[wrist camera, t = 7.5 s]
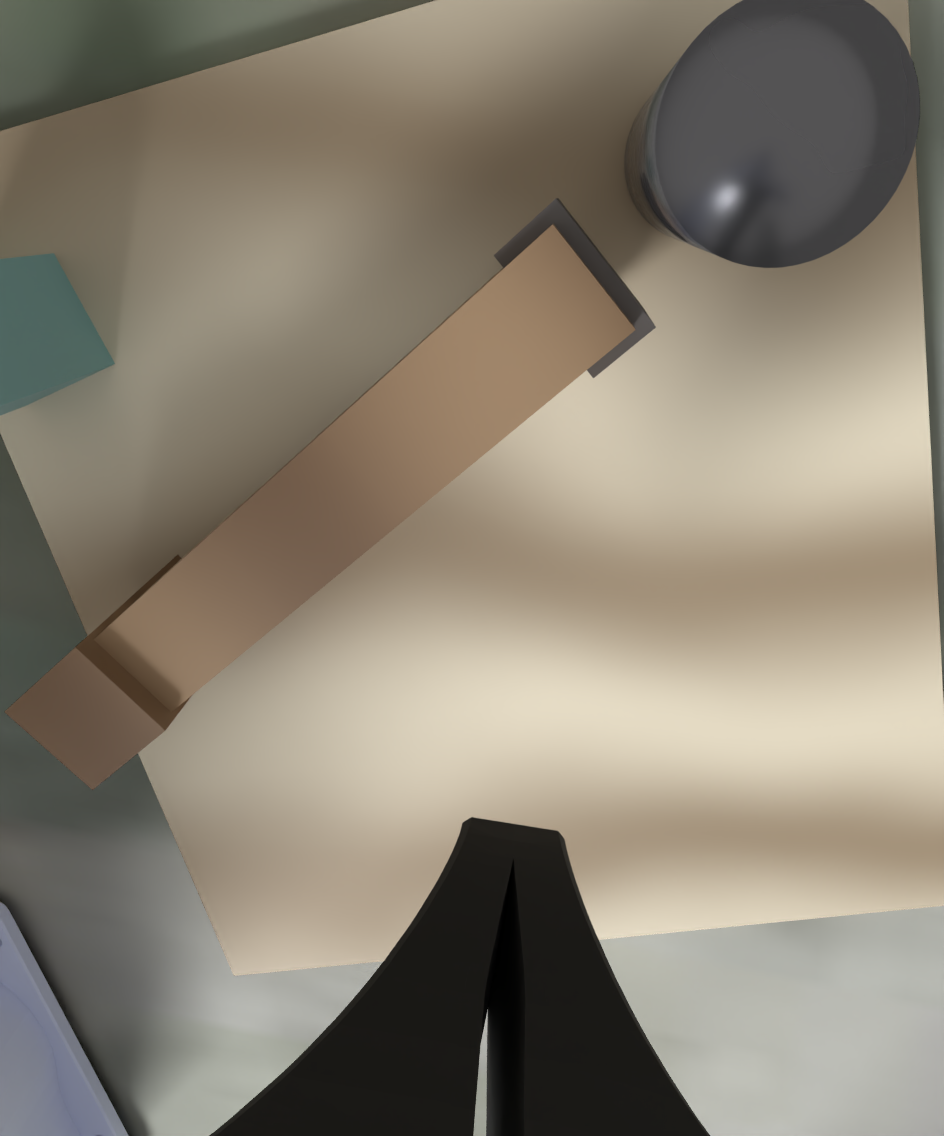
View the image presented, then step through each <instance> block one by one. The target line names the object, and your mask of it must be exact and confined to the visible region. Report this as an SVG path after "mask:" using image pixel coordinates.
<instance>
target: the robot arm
mask: <svg viewBox="0 0 944 1136" xmlns="http://www.w3.org/2000/svg"><path fill="white" fill-rule="evenodd" d="M487 1009H488V1035H487V1126H486V1136H710V1135H709V1133H708V1132H707V1131H706V1129H705V1128H704V1127H703V1125H702V1124H701V1123H700V1121H699V1120H698V1118H697V1117H696V1116H695V1114H694V1113H693V1111H692V1110H691V1108H690V1107H689V1105H688V1103H687V1102H686V1100H685V1099H684V1097H683V1096H682V1094H681V1093H680V1091H679V1090H678V1088H677V1087H676V1085H675V1083H674V1082H673V1080H672V1079H671V1077H670V1076H669V1074H668V1072H667V1071H666V1069H665V1067H664V1066H663V1064H662V1062H661V1061H660V1059H659V1057H658V1056H657V1054H656V1052H655V1051H654V1049H653V1047H652V1046H651V1044H650V1042H649V1041H648V1039H647V1037H646V1035H645V1033H644V1032H643V1030H642V1028H641V1026H640V1024H639V1023H638V1021H637V1019H636V1017H635V1015H634V1013H633V1011H632V1009H631V1007H630V1006H629V1004H628V1002H627V1000H626V998H625V996H624V994H623V992H622V990H621V988H620V986H619V984H618V982H617V980H616V978H615V975H614V973H613V971H612V969H611V967H610V965H609V963H608V960H607V958H606V956H605V954H604V951H603V949H602V947H601V944H600V942H599V940H598V937H597V935H596V933H595V930H594V928H593V925H592V923H591V921H590V918H589V916H588V913H587V910H586V908H585V905H584V903H583V900H582V897H581V894H580V891H579V888H578V886H577V883H576V880H575V877H574V873H573V870H572V867H571V863H570V860H569V856H568V852H567V848H566V844H565V839H564V838H563V836H562V835H561V834H560V832H559V831H556V830H550V829H543V828H537V827H531V826H525V825H518V824H512V823H506V822H499V821H493V820H487V819H481V818H474V817H471V818H469V819H468V820H466V821H464V822H463V823H462V826H461V830H460V834H459V836H458V839H457V841H456V844H455V846H454V849H453V851H452V853H451V855H450V857H449V859H448V862H447V863H446V865H445V867H444V869H443V871H442V873H441V875H440V877H439V878H438V880H437V882H436V884H435V885H434V887H433V889H432V890H431V892H430V894H429V895H428V897H427V899H426V900H425V902H424V903H423V905H422V907H421V908H420V910H419V912H418V913H417V915H416V916H415V918H414V919H413V921H412V922H411V924H410V925H409V927H408V928H407V930H406V931H405V932H404V934H403V935H402V937H401V938H400V939H399V941H398V942H397V944H396V945H395V946H394V948H393V949H392V950H391V952H390V953H389V955H388V956H387V957H386V959H385V960H384V962H383V963H382V964H381V966H380V967H379V968H378V969H377V971H376V972H375V973H374V974H373V976H372V977H371V978H370V979H369V981H368V982H367V983H366V984H365V986H364V987H363V988H362V989H361V990H360V992H359V993H358V994H357V995H356V996H355V997H354V999H353V1000H352V1001H351V1002H350V1003H349V1004H348V1006H347V1007H346V1008H345V1009H344V1010H343V1011H342V1012H341V1014H340V1015H339V1016H338V1017H337V1018H336V1019H335V1020H334V1021H333V1022H332V1023H331V1024H330V1025H329V1026H328V1027H327V1029H326V1030H325V1031H324V1032H323V1033H322V1034H321V1035H320V1036H319V1037H318V1038H317V1039H316V1040H315V1041H314V1042H313V1043H312V1044H311V1045H310V1046H309V1047H308V1048H307V1049H306V1050H305V1051H304V1052H303V1053H302V1054H301V1055H300V1056H299V1057H298V1058H297V1059H296V1060H295V1061H294V1062H293V1063H292V1064H291V1065H290V1066H289V1067H288V1068H287V1069H286V1070H285V1071H284V1072H283V1073H282V1074H281V1075H279V1076H278V1077H277V1078H276V1079H275V1080H274V1081H273V1082H272V1083H270V1084H269V1085H268V1086H267V1087H266V1088H265V1089H264V1090H262V1091H261V1092H260V1093H259V1094H258V1095H257V1096H256V1097H255V1098H253V1099H252V1100H251V1101H250V1102H249V1103H248V1104H247V1105H245V1106H244V1107H243V1108H242V1109H241V1110H240V1111H239V1112H237V1113H236V1114H235V1115H234V1116H233V1117H232V1118H231V1119H229V1120H228V1121H227V1122H226V1123H225V1124H223V1125H222V1126H221V1127H220V1128H218V1129H217V1130H216V1131H215V1132H213V1133H212V1134H211V1135H210V1136H473V1131H474V1117H475V1104H476V1092H477V1079H478V1067H479V1054H480V1044H481V1039H482V1034H483V1029H484V1024H485V1019H486V1014H487ZM0 1136H128V1134H127V1132H126V1130H125V1128H124V1126H123V1124H122V1122H121V1120H120V1119H119V1117H118V1115H117V1113H116V1111H115V1109H114V1107H113V1105H112V1103H111V1102H110V1100H109V1098H108V1096H107V1094H106V1092H105V1090H104V1088H103V1086H102V1085H101V1083H100V1081H99V1079H98V1077H97V1075H96V1073H95V1071H94V1070H93V1068H92V1066H91V1064H90V1062H89V1060H88V1058H87V1056H86V1054H85V1053H84V1051H83V1049H82V1047H81V1045H80V1043H79V1041H78V1039H77V1037H76V1036H75V1034H74V1032H73V1030H72V1028H71V1026H70V1024H69V1022H68V1021H67V1019H66V1017H65V1015H64V1013H63V1011H62V1009H61V1007H60V1005H59V1004H58V1002H57V1000H56V998H55V996H54V994H53V992H52V990H51V988H50V987H49V985H48V983H47V981H46V979H45V977H44V975H43V973H42V971H41V970H40V968H39V966H38V964H37V962H36V960H35V958H34V956H33V955H32V953H31V951H30V949H29V947H28V945H27V943H26V941H25V939H24V938H23V936H22V934H21V932H20V930H19V928H18V926H17V924H16V922H15V921H14V919H13V917H12V915H11V913H10V911H9V910H8V908H7V907H6V906H5V905H4V904H3V903H1V902H0Z"/></svg>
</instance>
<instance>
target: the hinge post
mask: <svg viewBox="0 0 944 1136" xmlns="http://www.w3.org/2000/svg"><path fill="white" fill-rule="evenodd" d="M919 119H920V96H919V87H918V80H917V76H916V72H915V68H914V64H913V61H912V59H911V56H910V54H909V51H908V49H907V46H906V45H905V43H904V41H903V40H902V38H901V36H900V35H899V33H898V31H897V30H896V29H895V28H894V26H893V25H892V24H891V23H890V22H889V20H888V19H887V18H886V17H885V16H884V15H883V14H882V13H881V12H879V11H878V10H877V9H876V8H875V7H874V6H872V5H871V4H869V3H868V2H866V1H864V0H743V1H741V2H739V3H737V4H735V5H734V6H732V7H731V8H729V9H728V10H726V11H725V12H723V13H722V14H720V15H719V16H718V17H717V18H716V19H715V20H713V21H712V22H711V23H710V24H709V25H708V26H707V27H705V28H704V30H703V31H702V32H701V33H700V34H699V35H698V36H697V37H696V38H695V40H694V41H693V42H692V43H691V44H690V46H689V47H688V48H687V49H686V51H685V52H684V53H683V55H682V56H681V57H680V59H679V60H678V61H677V62H676V64H675V65H674V66H673V68H672V69H671V70H670V72H669V73H668V74H667V75H666V77H665V78H664V79H663V81H662V82H661V83H660V84H659V86H658V87H657V88H656V90H655V91H654V92H653V94H652V95H651V96H650V97H649V99H648V100H647V101H646V103H645V104H644V105H643V107H642V108H641V110H640V111H639V113H638V115H637V116H636V118H635V120H634V122H633V124H632V127H631V129H630V132H629V135H628V139H627V142H626V148H625V154H624V172H625V180H626V184H627V189H628V191H629V194H630V197H631V199H632V201H633V203H634V205H635V207H636V209H637V210H638V211H639V213H640V214H641V216H642V217H643V218H644V219H645V220H646V221H647V222H648V223H649V224H650V225H651V226H653V227H654V228H655V229H656V230H658V231H660V232H661V233H663V234H665V235H667V236H669V237H672V238H674V239H677V240H679V241H682V242H684V243H687V244H689V245H692V246H694V247H697V248H699V249H702V250H704V251H706V252H709V253H711V254H714V255H716V256H719V257H721V258H724V259H726V260H729V261H731V262H734V263H738V264H742V265H746V266H751V267H760V268H781V267H788V266H794V265H799V264H802V263H806V262H809V261H812V260H815V259H818V258H820V257H822V256H825V255H827V254H829V253H831V252H833V251H835V250H836V249H838V248H840V247H841V246H843V245H845V244H846V243H848V242H849V241H850V240H852V239H853V238H854V237H856V236H857V235H858V234H860V233H861V232H862V231H863V230H864V229H865V228H866V227H867V226H868V225H869V224H870V223H871V222H873V221H874V219H875V218H876V217H877V216H878V215H879V214H880V212H881V211H882V210H883V209H884V208H885V206H886V205H887V204H888V202H889V201H890V199H891V198H892V196H893V195H894V193H895V192H896V190H897V188H898V186H899V184H900V183H901V181H902V179H903V177H904V175H905V173H906V170H907V168H908V165H909V163H910V160H911V157H912V155H913V151H914V147H915V143H916V139H917V134H918V127H919Z"/></svg>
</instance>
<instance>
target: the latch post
mask: <svg viewBox="0 0 944 1136" xmlns="http://www.w3.org/2000/svg"><path fill="white" fill-rule="evenodd" d="M114 364H115V363H114V361H113V359H112V357H111V355H110V354H109V352H108V350H107V348H106V346H105V345H104V343H103V341H102V339H101V337H100V336H99V334H98V332H97V330H96V328H95V327H94V325H93V323H92V321H91V319H90V318H89V316H88V314H87V312H86V310H85V309H84V307H83V305H82V303H81V301H80V299H79V298H78V296H77V294H76V292H75V290H74V289H73V287H72V285H71V283H70V281H69V280H68V278H67V276H66V274H65V272H64V271H63V269H62V267H61V265H60V263H59V262H58V260H57V258H56V256H55V254H54V253H51V254H42V255H32V256H23V257H14V258H5V259H0V415H3V414H6V413H8V412H11V411H14V410H16V409H19V408H21V407H24V406H26V405H29V404H31V403H33V402H35V401H37V400H39V399H41V398H43V397H46V396H48V395H50V394H52V393H54V392H56V391H58V390H61V389H63V388H65V387H67V386H69V385H71V384H73V383H76V382H78V381H80V380H82V379H84V378H86V377H88V376H90V375H93V374H95V373H97V372H99V371H101V370H103V369H105V368H108V367H110V366H112V365H114Z"/></svg>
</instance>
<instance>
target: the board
mask: <svg viewBox="0 0 944 1136" xmlns="http://www.w3.org/2000/svg"><path fill="white" fill-rule="evenodd" d="M741 1H743V0H435V1H432V2H428V3H425V4H422V5H418V6H415V7H412V8H408V9H405V10H402V11H398V12H395V13H392V14H388V15H385V16H382V17H378V18H375V19H372V20H368V21H365V22H362V23H358V24H355V25H352V26H348V27H345V28H342V29H338V30H335V31H332V32H328V33H325V34H322V35H318V36H315V37H312V38H308V39H305V40H302V41H298V42H295V43H292V44H288V45H285V46H282V47H278V48H275V49H272V50H268V51H265V52H262V53H258V54H255V55H252V56H248V57H245V58H242V59H238V60H235V61H232V62H228V63H225V64H222V65H218V66H215V67H212V68H208V69H205V70H202V71H199V72H195V73H192V74H189V75H185V76H182V77H179V78H175V79H172V80H169V81H165V82H162V83H159V84H155V85H152V86H149V87H145V88H142V89H139V90H135V91H132V92H129V93H125V94H122V95H119V96H115V97H112V98H109V99H105V100H102V101H99V102H95V103H92V104H89V105H85V106H82V107H79V108H75V109H72V110H69V111H65V112H62V113H59V114H55V115H52V116H49V117H45V118H42V119H39V120H35V121H32V122H29V123H25V124H22V125H19V126H15V127H12V128H9V129H5V130H2V131H0V259H5V258H14V257H23V256H32V255H42V254H51V253H54V254H55V256H56V258H57V260H58V262H59V263H60V265H61V267H62V269H63V271H64V272H65V274H66V276H67V278H68V280H69V281H70V283H71V285H72V287H73V289H74V290H75V292H76V294H77V296H78V298H79V299H80V301H81V303H82V305H83V307H84V309H85V310H86V312H87V314H88V316H89V318H90V319H91V321H92V323H93V325H94V327H95V328H96V330H97V332H98V334H99V336H100V337H101V339H102V341H103V343H104V345H105V346H106V348H107V350H108V352H109V354H110V355H111V357H112V359H113V361H114V363H115V364H114V365H112V366H110V367H108V368H105V369H103V370H101V371H99V372H97V373H95V374H93V375H90V376H88V377H86V378H84V379H82V380H80V381H78V382H76V383H73V384H71V385H69V386H67V387H65V388H63V389H61V390H58V391H56V392H54V393H52V394H50V395H48V396H46V397H43V398H41V399H39V400H37V401H35V402H33V403H31V404H29V405H26V406H24V407H21V408H19V409H16V410H14V411H11V412H8V413H6V414H3V415H0V434H1V436H2V438H3V441H4V443H5V445H6V448H7V450H8V452H9V455H10V457H11V459H12V462H13V464H14V466H15V469H16V471H17V473H18V476H19V478H20V480H21V483H22V485H23V487H24V490H25V492H26V494H27V496H28V499H29V501H30V503H31V506H32V508H33V510H34V513H35V515H36V517H37V520H38V522H39V524H40V527H41V529H42V531H43V534H44V536H45V538H46V541H47V543H48V545H49V548H50V550H51V552H52V555H53V557H54V559H55V562H56V564H57V566H58V568H59V571H60V573H61V575H62V578H63V580H64V582H65V585H66V587H67V589H68V592H69V594H70V596H71V599H72V601H73V603H74V606H75V608H76V610H77V613H78V615H79V617H80V620H81V622H82V624H83V627H84V629H85V631H86V634H87V636H88V635H89V634H90V633H91V632H93V631H94V630H95V629H96V628H97V627H98V626H99V625H100V624H101V623H103V622H104V621H105V620H106V619H107V618H108V617H109V616H110V615H111V614H112V613H114V612H115V611H116V610H117V609H118V608H119V607H120V606H121V605H122V604H124V603H125V602H126V601H127V600H128V599H129V598H130V597H131V596H132V595H133V594H135V593H136V592H137V591H138V590H139V589H140V588H141V587H142V586H143V585H145V584H146V583H147V582H148V581H149V580H150V579H151V578H152V577H153V576H154V575H156V574H157V573H158V572H159V571H160V570H161V569H162V568H163V567H164V566H166V565H167V564H168V563H169V562H170V561H171V560H172V559H173V558H174V557H175V556H177V555H179V556H180V557H181V558H183V557H184V556H185V555H186V554H187V553H188V552H189V551H190V550H191V549H193V548H194V547H195V546H196V545H197V544H198V543H199V542H200V541H201V540H203V539H204V538H205V537H206V536H207V535H208V534H209V533H210V532H211V531H212V530H214V529H215V528H216V527H217V526H218V525H219V524H220V523H221V522H222V521H224V520H225V519H226V518H227V517H228V516H229V515H230V514H231V513H232V512H233V511H235V510H236V509H237V508H238V507H239V506H240V505H241V504H242V503H243V502H244V501H246V500H247V499H248V498H249V497H250V496H251V495H252V494H253V493H254V492H256V491H257V490H258V489H259V488H260V487H261V486H262V485H263V484H264V483H265V482H267V481H268V480H269V479H270V478H271V477H272V476H273V475H274V474H275V473H277V472H278V471H279V470H280V469H281V468H282V467H283V466H284V465H285V464H286V463H288V462H289V461H290V460H291V459H292V458H293V457H294V456H295V455H296V454H297V453H299V452H300V451H301V450H302V449H303V448H304V447H305V446H306V445H307V444H309V443H310V442H311V441H312V440H313V439H314V438H315V437H316V436H317V435H318V434H320V433H321V432H322V431H323V430H324V429H325V428H326V427H327V426H328V425H329V424H331V423H332V422H333V421H334V420H335V419H336V418H337V417H338V416H339V415H341V414H342V413H343V412H344V411H345V410H346V409H347V408H348V407H349V406H350V405H352V404H353V403H354V402H355V401H356V400H357V399H358V398H359V397H360V396H362V395H363V394H364V393H365V392H366V391H367V390H368V389H369V388H370V387H371V386H373V385H374V384H375V383H376V382H377V381H378V380H379V379H380V378H381V377H382V376H384V375H385V374H386V373H387V372H388V371H389V370H390V369H391V368H392V367H394V366H395V365H396V364H397V363H398V362H399V361H400V360H401V359H402V358H403V357H405V356H406V355H407V354H408V353H409V352H410V351H411V350H412V349H413V348H415V347H416V346H417V345H418V344H419V343H420V342H421V341H422V340H423V339H424V338H426V337H427V336H428V335H429V334H430V333H431V332H432V331H433V330H434V329H435V328H437V327H438V326H439V325H440V324H441V323H442V322H443V321H444V320H445V319H447V318H448V317H449V316H450V315H451V314H452V313H453V312H454V311H455V310H456V309H458V308H459V307H460V306H461V305H462V304H463V303H464V302H465V301H466V300H468V299H469V298H470V297H471V296H472V295H473V294H474V293H475V292H476V291H477V290H479V289H480V288H481V287H482V286H483V285H484V284H485V283H486V282H487V281H488V280H490V279H491V278H492V277H493V276H494V275H495V274H496V273H497V272H498V271H500V270H501V269H502V268H503V267H502V265H501V264H500V263H499V262H498V261H497V259H496V258H495V257H494V255H495V254H496V253H497V252H498V251H499V250H500V249H501V248H502V247H503V246H504V245H506V244H507V243H508V242H509V241H510V240H511V239H512V238H513V237H514V236H515V235H516V234H518V233H519V232H520V231H521V230H522V229H523V228H524V227H525V226H526V225H527V224H528V223H530V222H531V221H532V220H533V219H534V218H535V217H536V216H537V215H538V214H539V213H540V212H542V211H543V210H544V209H545V208H546V207H547V206H548V205H549V204H550V203H551V202H553V201H554V200H555V199H556V198H559V200H560V201H561V202H562V203H563V205H564V206H565V207H566V209H567V210H568V211H569V212H570V214H571V215H572V216H573V218H574V219H575V220H576V221H577V223H578V224H579V225H580V227H581V228H582V229H583V230H584V232H585V233H586V234H587V236H588V237H589V238H590V239H591V241H592V242H593V243H594V245H595V246H596V247H597V248H598V250H599V251H600V252H601V254H602V255H603V256H604V257H605V259H606V260H607V261H608V262H609V264H610V265H611V266H612V268H613V269H614V270H615V271H616V273H617V274H618V275H619V277H620V278H621V279H622V280H623V282H624V283H625V284H626V286H627V287H628V288H629V289H630V291H631V292H632V293H633V295H634V296H635V297H636V298H637V300H638V301H639V302H640V304H641V305H642V306H643V308H644V309H645V311H646V312H647V314H648V316H649V317H650V319H651V320H652V322H653V323H654V325H655V326H656V328H655V329H653V330H652V331H651V332H650V333H649V334H647V335H646V336H645V337H644V338H642V339H641V340H640V341H639V342H638V343H636V344H635V345H634V346H633V347H631V348H630V349H629V350H628V351H627V352H625V353H624V354H623V355H622V356H620V357H619V358H618V359H617V360H615V361H614V362H613V363H612V364H611V365H609V366H608V367H607V368H606V369H604V370H603V371H602V372H601V373H600V374H598V375H597V376H596V377H595V378H593V377H592V376H591V375H590V374H589V373H588V371H587V370H586V371H585V372H584V373H583V374H581V375H580V376H579V377H578V378H577V379H575V380H574V381H573V382H572V383H570V384H569V385H568V386H567V387H566V388H564V389H563V390H562V391H561V392H560V393H558V394H557V395H556V396H555V397H553V398H552V399H551V400H550V401H549V402H547V403H546V404H545V405H544V406H543V407H541V408H540V409H539V410H538V411H536V412H535V413H534V414H533V415H532V416H530V417H529V418H528V419H527V420H526V421H524V422H523V423H522V424H521V425H519V426H518V427H517V428H516V429H515V430H513V431H512V432H511V433H510V434H509V435H507V436H506V437H505V438H504V439H502V440H501V441H500V442H499V443H498V444H496V445H495V446H494V447H493V448H492V449H490V450H489V451H488V452H487V453H485V454H484V455H483V456H482V457H481V458H479V459H478V460H477V461H476V462H475V463H473V464H472V465H471V466H470V467H468V468H467V469H466V470H465V471H464V472H462V473H461V474H460V475H459V476H458V477H456V478H455V479H454V480H453V481H451V482H450V483H449V484H448V485H447V486H445V487H444V488H443V489H442V490H441V491H439V492H438V493H437V494H436V495H434V496H433V497H432V498H431V499H430V500H428V501H427V502H426V503H425V504H424V505H422V506H421V507H420V508H419V509H417V510H416V511H415V512H414V513H413V514H411V515H410V516H409V517H408V518H407V519H405V520H404V521H403V522H402V523H400V524H399V525H398V526H397V527H396V528H394V529H393V530H392V531H391V532H390V533H388V534H387V535H386V536H385V537H384V538H382V539H381V540H380V541H379V542H377V543H376V544H375V545H374V546H373V547H371V548H370V549H369V550H368V551H367V552H365V553H364V554H363V555H362V556H360V557H359V558H358V559H357V560H356V561H354V562H353V563H352V564H351V565H350V566H348V567H347V568H346V569H345V570H343V571H342V572H341V573H340V574H339V575H337V576H336V577H335V578H334V579H333V580H331V581H330V582H329V583H328V584H326V585H325V586H324V587H323V588H322V589H320V590H319V591H318V592H317V593H316V594H314V595H313V596H312V597H311V598H309V599H308V600H307V601H306V602H305V603H303V604H302V605H301V606H300V607H299V608H297V609H296V610H295V611H294V612H292V613H291V614H290V615H289V616H288V617H286V618H285V619H284V620H283V621H282V622H280V623H279V624H278V625H277V626H275V627H274V628H273V629H272V630H271V631H269V632H268V633H267V634H266V635H265V636H263V637H262V638H261V639H260V640H258V641H257V642H256V643H255V644H254V645H252V646H251V647H250V648H249V649H248V650H246V651H245V652H244V653H243V654H241V655H240V656H239V657H238V658H237V659H235V660H234V661H233V662H232V663H231V664H229V665H228V666H227V667H226V668H224V669H223V670H222V671H221V672H220V673H218V674H217V675H216V676H215V677H214V678H212V679H211V680H210V681H209V682H207V683H206V684H205V685H204V686H203V687H201V688H200V689H199V690H198V691H197V692H195V693H194V694H193V695H192V696H191V698H190V699H189V700H188V702H187V703H186V704H185V706H184V707H183V708H182V710H181V711H180V712H179V713H178V715H177V716H176V717H175V719H174V720H173V721H172V723H171V724H170V725H169V727H168V728H167V729H166V731H164V732H163V733H162V734H161V735H160V736H158V737H157V738H156V739H155V740H153V741H152V742H151V743H150V744H148V745H147V746H146V747H145V748H144V749H142V750H141V751H140V752H139V753H138V754H139V757H140V759H141V761H142V764H143V766H144V768H145V771H146V773H147V775H148V778H149V780H150V782H151V785H152V787H153V789H154V791H155V794H156V796H157V798H158V801H159V803H160V805H161V808H162V810H163V812H164V815H165V817H166V819H167V822H168V824H169V826H170V829H171V831H172V833H173V836H174V838H175V840H176V843H177V845H178V847H179V850H180V852H181V854H182V857H183V859H184V861H185V863H186V866H187V868H188V870H189V873H190V875H191V877H192V880H193V882H194V884H195V887H196V889H197V891H198V894H199V896H200V898H201V901H202V903H203V905H204V908H205V910H206V912H207V915H208V917H209V919H210V922H211V924H212V926H213V929H214V931H215V933H216V935H217V938H218V940H219V942H220V945H221V947H222V949H223V952H224V954H225V956H226V959H227V961H228V963H229V966H230V968H231V970H232V973H233V975H234V976H238V975H248V974H258V973H268V972H278V971H289V970H299V969H309V968H319V967H329V966H339V965H349V964H359V963H369V962H379V961H384V960H385V959H386V957H387V956H388V955H389V953H390V952H391V950H392V949H393V948H394V946H395V945H396V944H397V942H398V941H399V939H400V938H401V937H402V935H403V934H404V932H405V931H406V930H407V928H408V927H409V925H410V924H411V922H412V921H413V919H414V918H415V916H416V915H417V913H418V912H419V910H420V908H421V907H422V905H423V903H424V902H425V900H426V899H427V897H428V895H429V894H430V892H431V890H432V889H433V887H434V885H435V884H436V882H437V880H438V878H439V877H440V875H441V873H442V871H443V869H444V867H445V865H446V863H447V862H448V859H449V857H450V855H451V853H452V851H453V849H454V846H455V844H456V841H457V839H458V836H459V834H460V830H461V826H462V823H463V822H464V821H466V820H468V819H469V818H471V817H474V818H481V819H487V820H493V821H499V822H506V823H512V824H518V825H525V826H531V827H537V828H543V829H550V830H556V831H559V832H560V834H561V835H562V836H563V838H564V839H565V844H566V848H567V852H568V856H569V860H570V863H571V867H572V870H573V873H574V877H575V880H576V883H577V886H578V888H579V891H580V894H581V897H582V900H583V903H584V905H585V908H586V910H587V913H588V916H589V918H590V921H591V923H592V925H593V928H594V930H595V933H596V935H597V937H598V940H602V939H612V938H622V937H632V936H642V935H652V934H662V933H672V932H682V931H693V930H703V929H713V928H723V927H733V926H743V925H753V924H763V923H773V922H783V921H794V920H804V919H814V918H824V917H834V916H844V915H854V914H864V913H874V912H885V911H895V910H905V909H915V908H925V907H935V906H944V701H943V682H942V662H941V642H940V622H939V602H938V583H937V563H936V543H935V523H934V503H933V484H932V464H931V444H930V424H929V404H928V384H927V365H926V345H925V325H924V305H923V285H922V266H921V246H920V226H919V206H918V186H917V167H916V147H914V151H913V155H912V157H911V160H910V163H909V165H908V168H907V170H906V173H905V175H904V177H903V179H902V181H901V183H900V184H899V186H898V188H897V190H896V192H895V193H894V195H893V196H892V198H891V199H890V201H889V202H888V204H887V205H886V206H885V208H884V209H883V210H882V211H881V212H880V214H879V215H878V216H877V217H876V218H875V219H874V221H873V222H871V223H870V224H869V225H868V226H867V227H866V228H865V229H864V230H863V231H862V232H861V233H860V234H858V235H857V236H856V237H854V238H853V239H852V240H850V241H849V242H848V243H846V244H845V245H843V246H841V247H840V248H838V249H836V250H835V251H833V252H831V253H829V254H827V255H825V256H822V257H820V258H818V259H815V260H812V261H809V262H806V263H802V264H799V265H794V266H788V267H781V268H760V267H751V266H746V265H742V264H738V263H734V262H731V261H729V260H726V259H724V258H721V257H719V256H716V255H714V254H711V253H709V252H706V251H704V250H702V249H699V248H697V247H694V246H692V245H689V244H687V243H684V242H682V241H679V240H677V239H674V238H672V237H669V236H667V235H665V234H663V233H661V232H660V231H658V230H656V229H655V228H654V227H653V226H651V225H650V224H649V223H648V222H647V221H646V220H645V219H644V218H643V217H642V216H641V214H640V213H639V211H638V210H637V209H636V207H635V205H634V203H633V201H632V199H631V197H630V194H629V191H628V189H627V184H626V180H625V172H624V154H625V148H626V142H627V139H628V135H629V132H630V129H631V127H632V124H633V122H634V120H635V118H636V116H637V115H638V113H639V111H640V110H641V108H642V107H643V105H644V104H645V103H646V101H647V100H648V99H649V97H650V96H651V95H652V94H653V92H654V91H655V90H656V88H657V87H658V86H659V84H660V83H661V82H662V81H663V79H664V78H665V77H666V75H667V74H668V73H669V72H670V70H671V69H672V68H673V66H674V65H675V64H676V62H677V61H678V60H679V59H680V57H681V56H682V55H683V53H684V52H685V51H686V49H687V48H688V47H689V46H690V44H691V43H692V42H693V41H694V40H695V38H696V37H697V36H698V35H699V34H700V33H701V32H702V31H703V30H704V28H705V27H707V26H708V25H709V24H710V23H711V22H712V21H713V20H715V19H716V18H717V17H718V16H719V15H720V14H722V13H723V12H725V11H726V10H728V9H729V8H731V7H732V6H734V5H735V4H737V3H739V2H741ZM864 1H866V2H868V3H869V4H871V5H872V6H874V7H875V8H876V9H877V10H878V11H879V12H881V13H882V14H883V15H884V16H885V17H886V18H887V19H888V20H889V22H890V23H891V24H892V25H893V26H894V28H895V29H896V30H897V31H898V33H899V35H900V36H901V38H902V40H903V41H904V43H905V45H906V46H907V49H908V51H909V54H910V56H911V48H910V28H909V8H908V0H864Z"/></svg>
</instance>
